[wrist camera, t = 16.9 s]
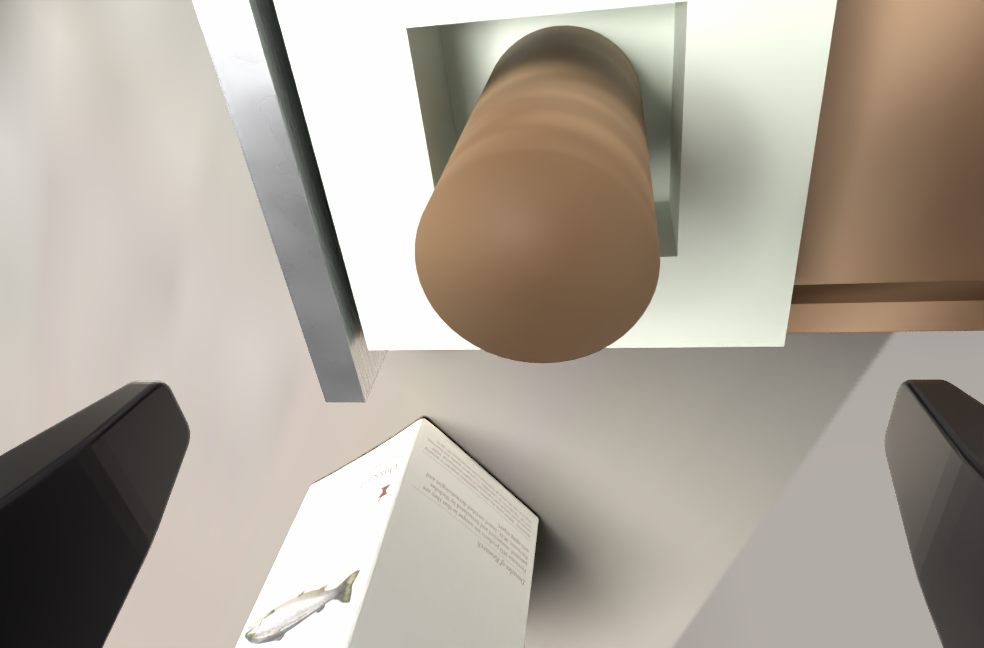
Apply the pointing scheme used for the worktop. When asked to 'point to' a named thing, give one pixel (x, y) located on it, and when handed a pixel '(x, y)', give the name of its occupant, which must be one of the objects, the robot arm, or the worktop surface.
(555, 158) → the dowel
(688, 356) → the worktop surface
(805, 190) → the socket block
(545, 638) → the worktop surface
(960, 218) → the rail base
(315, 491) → the supplement box
